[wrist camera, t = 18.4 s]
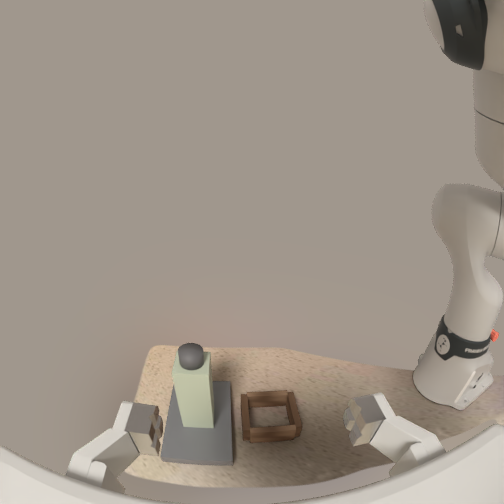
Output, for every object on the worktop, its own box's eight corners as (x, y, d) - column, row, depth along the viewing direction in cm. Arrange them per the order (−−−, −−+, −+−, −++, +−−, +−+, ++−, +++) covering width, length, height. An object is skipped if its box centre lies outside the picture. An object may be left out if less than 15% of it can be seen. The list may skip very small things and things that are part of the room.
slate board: (230, 386, 46) (230, 381, 45) (232, 465, 30) (232, 461, 29) (175, 384, 45) (174, 379, 44) (162, 461, 29) (160, 456, 28)
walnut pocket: (290, 400, 42) (292, 389, 42) (299, 438, 34) (303, 428, 33) (240, 403, 42) (240, 392, 41) (243, 443, 34) (243, 433, 33)
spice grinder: (214, 406, 39) (209, 340, 35) (213, 428, 35) (207, 362, 30) (186, 405, 39) (175, 339, 34) (183, 426, 34) (169, 361, 30)
